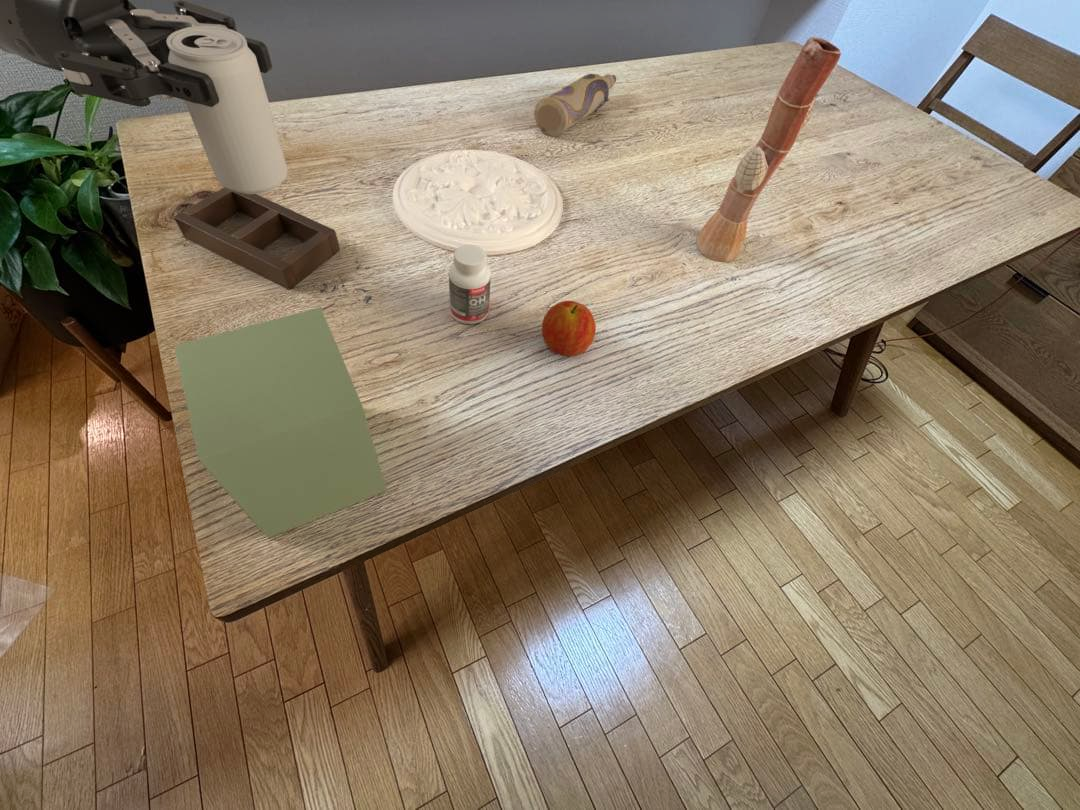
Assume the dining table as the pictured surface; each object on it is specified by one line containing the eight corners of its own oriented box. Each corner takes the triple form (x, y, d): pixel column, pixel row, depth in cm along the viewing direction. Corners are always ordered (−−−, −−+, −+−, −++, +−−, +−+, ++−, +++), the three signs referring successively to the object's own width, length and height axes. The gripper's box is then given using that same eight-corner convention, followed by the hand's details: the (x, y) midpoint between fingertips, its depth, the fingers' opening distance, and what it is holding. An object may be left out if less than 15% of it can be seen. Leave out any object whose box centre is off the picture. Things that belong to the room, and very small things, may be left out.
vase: (708, 266, 83) (808, 57, 58) (684, 238, 86) (768, 30, 62) (759, 254, 86) (874, 52, 62) (733, 228, 90) (832, 27, 65)
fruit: (528, 344, 69) (534, 300, 62) (563, 320, 72) (573, 276, 66) (565, 375, 66) (575, 333, 60) (600, 349, 70) (613, 307, 63)
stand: (387, 490, 55) (361, 404, 42) (268, 538, 50) (198, 459, 37) (353, 405, 60) (320, 306, 47) (242, 442, 56) (174, 345, 43)
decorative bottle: (562, 143, 99) (567, 107, 94) (531, 129, 101) (534, 93, 96) (627, 100, 113) (634, 66, 107) (598, 88, 115) (604, 54, 109)
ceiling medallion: (586, 187, 92) (590, 171, 89) (517, 278, 76) (519, 261, 73) (449, 138, 96) (448, 120, 93) (357, 214, 80) (353, 195, 78)
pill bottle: (475, 331, 69) (475, 274, 61) (442, 314, 70) (438, 256, 62) (496, 308, 72) (499, 251, 64) (464, 292, 73) (463, 234, 65)
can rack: (289, 290, 70) (282, 270, 67) (184, 238, 73) (172, 216, 70) (340, 250, 75) (335, 230, 72) (240, 203, 79) (231, 182, 76)
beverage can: (227, 159, 52) (173, 18, 42) (295, 163, 53) (258, 27, 43) (210, 197, 48) (147, 52, 38) (283, 201, 49) (240, 61, 39)
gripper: (-58, -8, 36) (156, 55, 35) (103, -56, 44) (280, -8, 43) (17, 104, 42) (201, 160, 41) (146, 43, 50) (302, 88, 49)
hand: (241, 74), depth 42 cm, fingers closed on beverage can, 6 cm apart
